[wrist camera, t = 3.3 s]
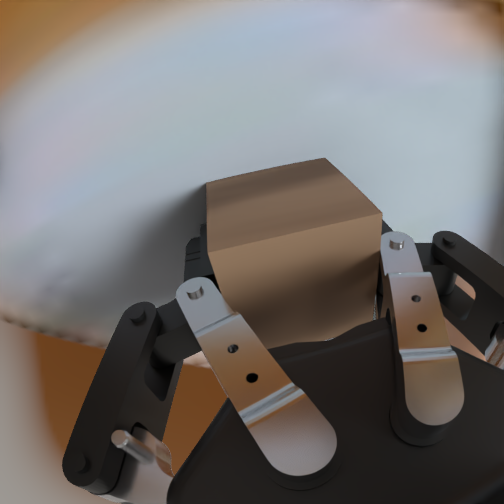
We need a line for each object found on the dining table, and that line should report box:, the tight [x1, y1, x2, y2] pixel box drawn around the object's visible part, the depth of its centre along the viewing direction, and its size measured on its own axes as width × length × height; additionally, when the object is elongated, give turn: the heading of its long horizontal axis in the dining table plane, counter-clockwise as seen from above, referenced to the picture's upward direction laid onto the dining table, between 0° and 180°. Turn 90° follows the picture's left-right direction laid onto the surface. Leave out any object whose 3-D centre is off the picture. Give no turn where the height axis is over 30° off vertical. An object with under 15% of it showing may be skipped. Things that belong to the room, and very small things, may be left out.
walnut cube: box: [206, 158, 382, 349], centre depth 12 cm, size 5×5×5 cm
